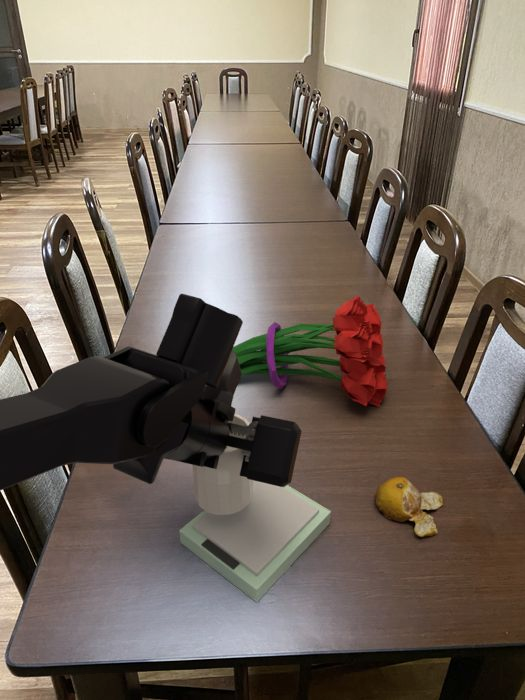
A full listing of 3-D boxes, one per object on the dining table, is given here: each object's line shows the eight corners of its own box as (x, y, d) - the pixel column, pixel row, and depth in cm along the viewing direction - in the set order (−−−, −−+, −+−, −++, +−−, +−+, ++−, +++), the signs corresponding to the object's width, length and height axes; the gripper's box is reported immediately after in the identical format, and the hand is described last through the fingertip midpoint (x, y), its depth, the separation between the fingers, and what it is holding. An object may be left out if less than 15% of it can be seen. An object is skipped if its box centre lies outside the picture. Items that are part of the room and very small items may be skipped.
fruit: (434, 544, 64) (440, 523, 62) (366, 522, 67) (369, 501, 65) (444, 497, 71) (449, 476, 69) (381, 478, 73) (384, 458, 71)
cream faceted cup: (225, 528, 60) (222, 461, 55) (183, 499, 64) (177, 433, 58) (264, 493, 64) (265, 428, 59) (222, 468, 68) (220, 404, 63)
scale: (256, 602, 57) (256, 586, 56) (180, 542, 64) (178, 526, 63) (330, 523, 67) (331, 507, 65) (256, 478, 73) (256, 462, 72)
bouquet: (228, 383, 103) (387, 369, 96) (206, 439, 89) (391, 428, 82) (201, 290, 94) (375, 267, 86) (172, 337, 80) (377, 314, 73)
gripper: (301, 356, 46) (320, 390, 61) (109, 323, 51) (170, 362, 66) (273, 487, 44) (300, 489, 58) (75, 439, 48) (146, 453, 63)
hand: (226, 443), depth 61 cm, fingers closed on cream faceted cup, 7 cm apart
